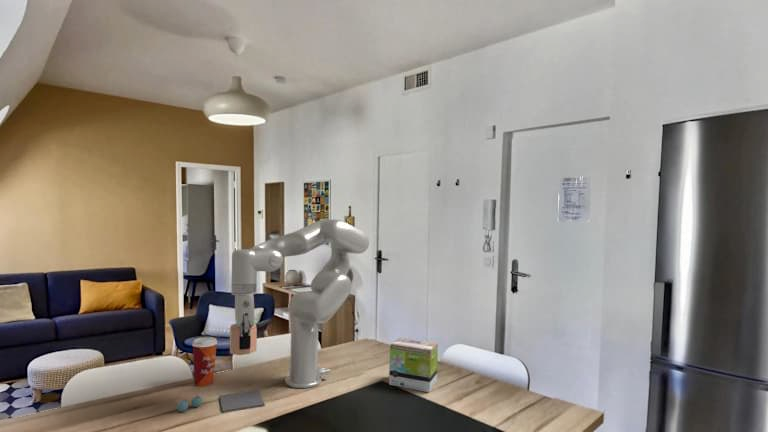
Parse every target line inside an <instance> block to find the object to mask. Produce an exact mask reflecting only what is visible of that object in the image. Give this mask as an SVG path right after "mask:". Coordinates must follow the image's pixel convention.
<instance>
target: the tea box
mask: <svg viewBox="0 0 768 432" xmlns="http://www.w3.org/2000/svg"><path fill="white" fill-rule="evenodd" d="M389 345H390V346H389V373H388V375H389V376H388V379H389V380H388V381H389V383H388V384H389V386H397V387H400V388H406V389H411V390H416V391H420V392H425V393H430V392H431V391H432V389H433V388H434V387H435V386H436V385H437V383H438V356H439V354H438V352H439V350H438V349H439V343H438V342H433V341H424V340H421V339H419V340H418V339H412V338H405V337H399V338H397V339H396V340H394V341H393V342H392V343H390V344H389ZM434 385H435V386H434Z"/></svg>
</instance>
